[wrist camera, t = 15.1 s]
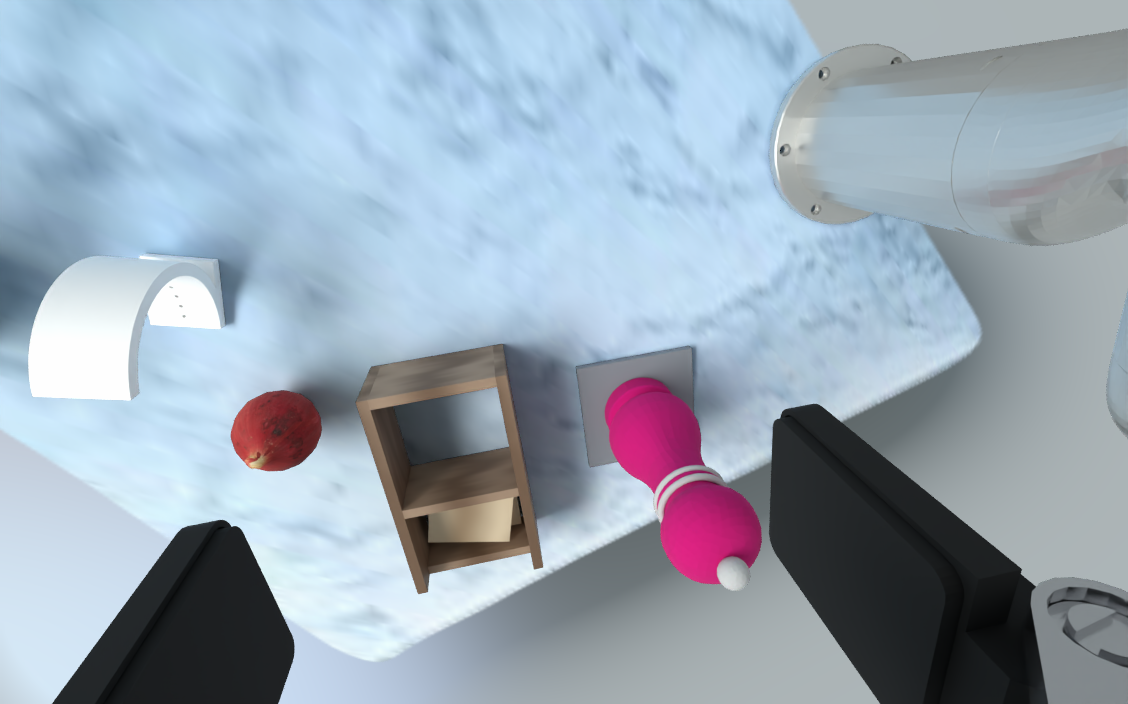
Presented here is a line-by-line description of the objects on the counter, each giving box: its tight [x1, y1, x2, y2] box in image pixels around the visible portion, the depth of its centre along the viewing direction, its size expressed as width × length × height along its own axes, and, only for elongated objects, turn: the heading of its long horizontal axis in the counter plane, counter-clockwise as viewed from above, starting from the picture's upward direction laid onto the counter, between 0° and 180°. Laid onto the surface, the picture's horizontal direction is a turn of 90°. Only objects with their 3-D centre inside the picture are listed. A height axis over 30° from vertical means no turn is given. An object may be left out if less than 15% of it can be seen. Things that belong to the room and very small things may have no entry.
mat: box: [576, 346, 694, 467], centre depth 48 cm, size 10×10×1 cm
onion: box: [231, 390, 322, 471], centre depth 39 cm, size 6×6×8 cm
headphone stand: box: [28, 253, 225, 400], centre depth 33 cm, size 5×6×12 cm
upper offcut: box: [428, 497, 513, 542], centre depth 47 cm, size 7×5×2 cm
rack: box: [356, 344, 543, 594], centre depth 44 cm, size 11×18×6 cm, turn 7°
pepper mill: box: [605, 378, 762, 591], centre depth 38 cm, size 7×7×20 cm
